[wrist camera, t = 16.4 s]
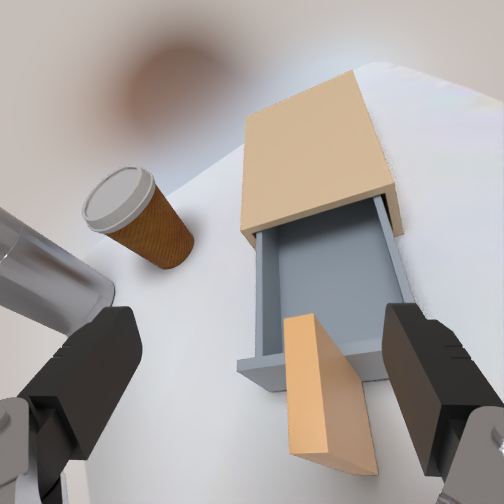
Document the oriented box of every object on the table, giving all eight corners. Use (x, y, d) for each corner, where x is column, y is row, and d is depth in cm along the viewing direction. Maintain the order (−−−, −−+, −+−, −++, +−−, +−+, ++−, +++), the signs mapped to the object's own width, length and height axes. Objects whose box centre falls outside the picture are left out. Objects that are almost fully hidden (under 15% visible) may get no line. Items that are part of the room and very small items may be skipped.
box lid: (267, 157, 49) (245, 117, 44) (363, 119, 44) (352, 69, 39) (269, 268, 36) (240, 230, 31) (403, 234, 32) (394, 182, 27)
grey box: (266, 220, 40) (213, 139, 31) (386, 183, 35) (363, 73, 26) (270, 476, 24) (166, 458, 16) (487, 474, 20) (516, 444, 11)
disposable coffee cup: (214, 247, 43) (154, 182, 34) (156, 293, 43) (81, 239, 34) (191, 212, 49) (136, 151, 41) (141, 252, 49) (75, 198, 41)
